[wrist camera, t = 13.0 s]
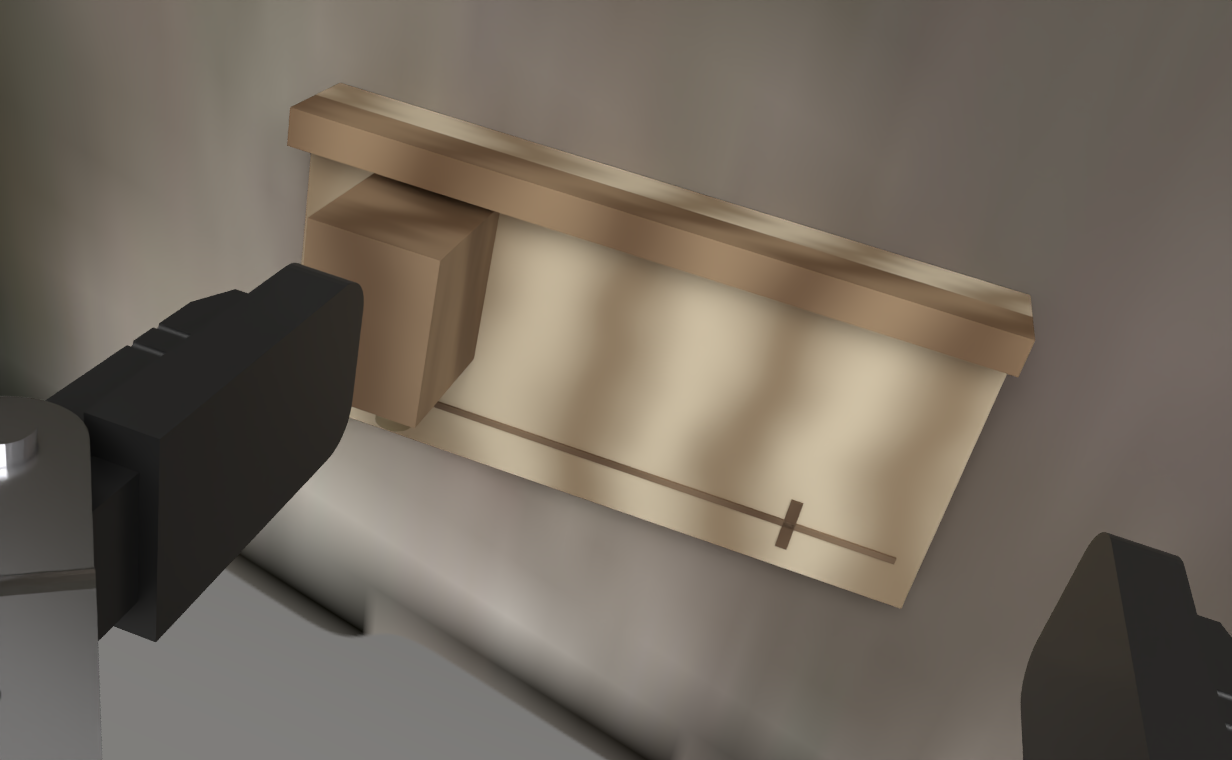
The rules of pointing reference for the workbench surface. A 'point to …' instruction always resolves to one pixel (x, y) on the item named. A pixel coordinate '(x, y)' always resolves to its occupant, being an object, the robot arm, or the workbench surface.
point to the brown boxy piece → (407, 289)
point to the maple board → (694, 350)
